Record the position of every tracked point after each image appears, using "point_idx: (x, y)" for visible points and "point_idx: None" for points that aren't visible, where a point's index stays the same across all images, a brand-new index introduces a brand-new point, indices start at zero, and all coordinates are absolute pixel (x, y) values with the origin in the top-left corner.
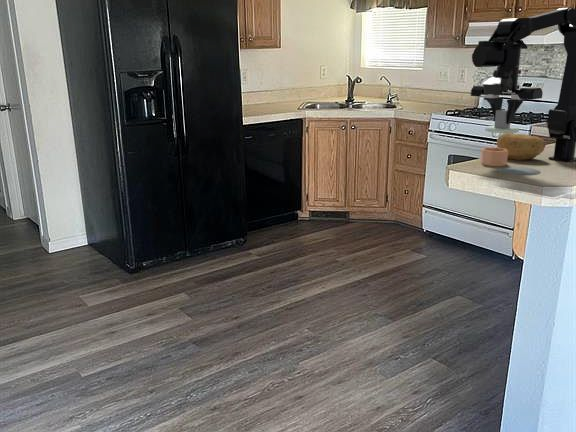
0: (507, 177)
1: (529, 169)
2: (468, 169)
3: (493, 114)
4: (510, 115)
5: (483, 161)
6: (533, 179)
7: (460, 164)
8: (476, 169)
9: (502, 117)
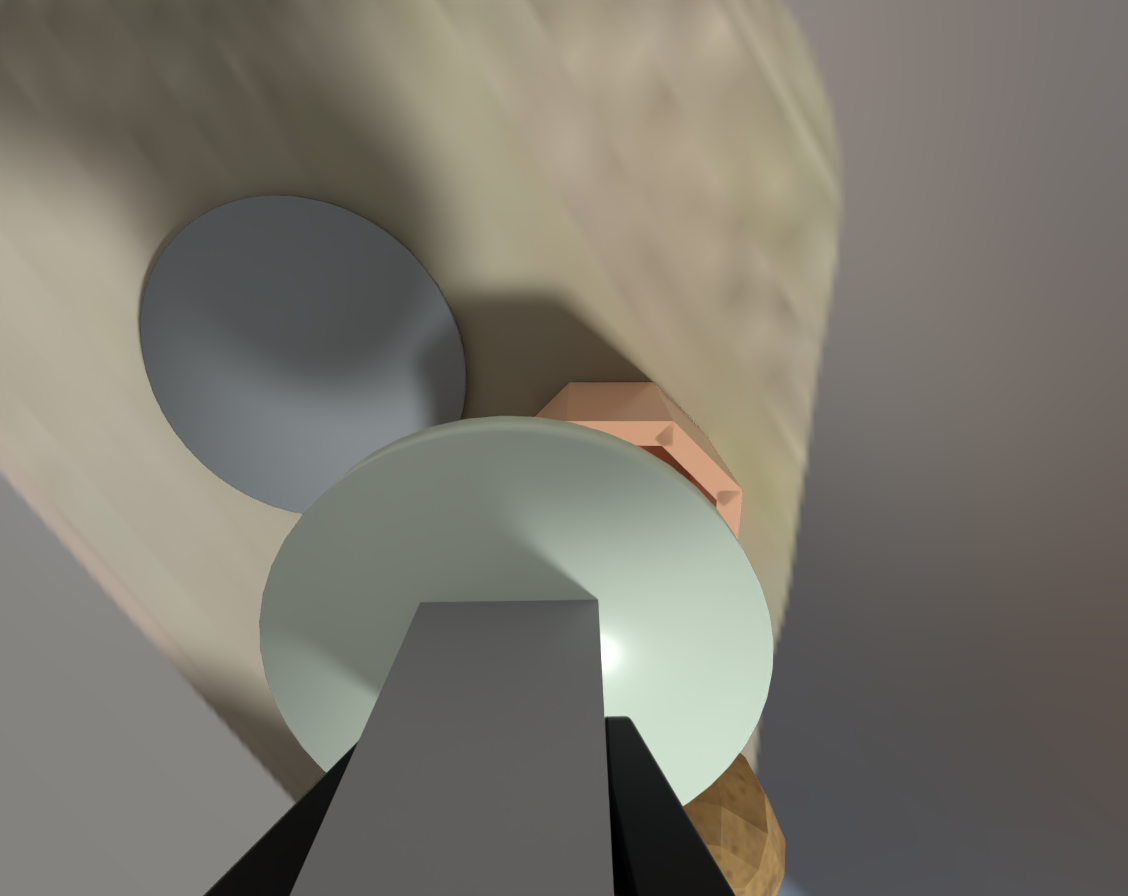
0: (218, 102)
1: (295, 472)
2: (641, 134)
3: (700, 846)
4: (243, 869)
5: (643, 390)
6: (65, 210)
7: (814, 283)
8: (592, 197)
9: (418, 765)
